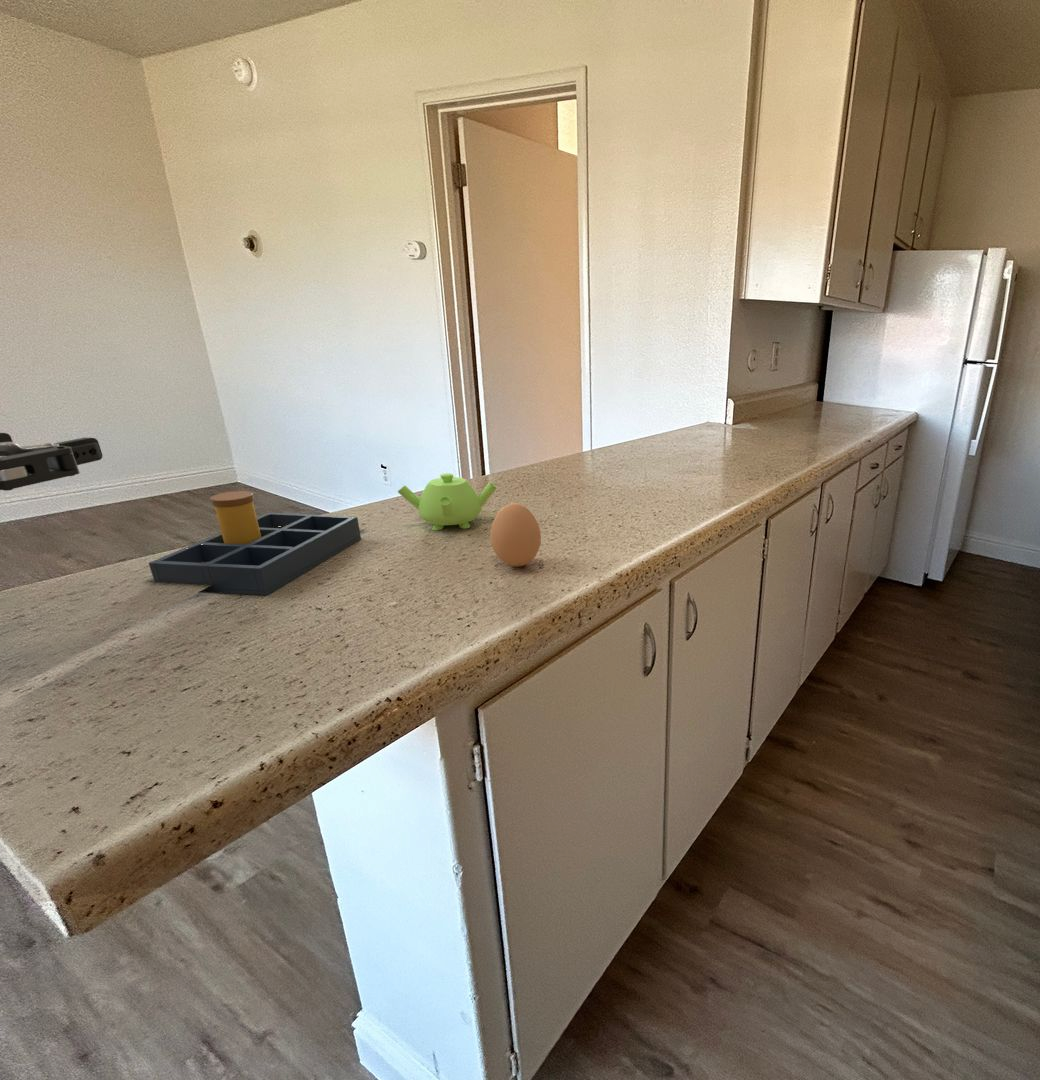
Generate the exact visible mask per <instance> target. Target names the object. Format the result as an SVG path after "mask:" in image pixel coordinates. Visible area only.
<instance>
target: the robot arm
mask: <svg viewBox="0 0 1040 1080" xmlns="http://www.w3.org/2000/svg"><path fill="white" fill-rule="evenodd" d="M102 459H103V451H102V449H101V445H100V443H99V441H98V439H97V438H96V437H86V436H85V437H80V438H75V439H70V440H64V441H60V442H54V443H52V442H47V443H44V444H35V445H34V444H33V445H24V446H23V445H19V444H18V443H16V442H14V441H13V439H12V436H11V434H9V433H7V432H0V491H5V492H7V491H13V490H15V489H18V488H23V487H27V486H32V485H37V484H41V483H45V482H50V481H53V480H59V479H63V478H67V477H74V476H76V475H80V473H81V472H80V469H79V466H81V465H84V464H89V463H93V462H98V461H100V460H102Z"/></svg>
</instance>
